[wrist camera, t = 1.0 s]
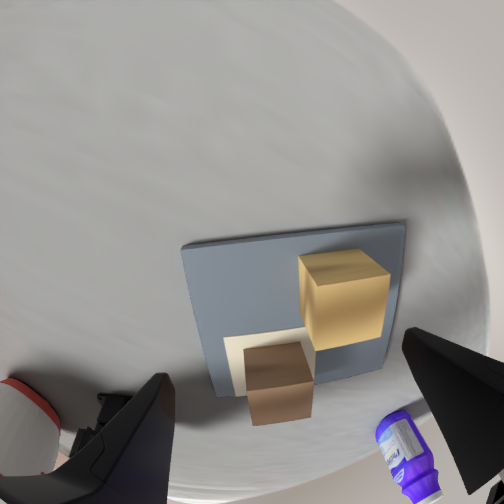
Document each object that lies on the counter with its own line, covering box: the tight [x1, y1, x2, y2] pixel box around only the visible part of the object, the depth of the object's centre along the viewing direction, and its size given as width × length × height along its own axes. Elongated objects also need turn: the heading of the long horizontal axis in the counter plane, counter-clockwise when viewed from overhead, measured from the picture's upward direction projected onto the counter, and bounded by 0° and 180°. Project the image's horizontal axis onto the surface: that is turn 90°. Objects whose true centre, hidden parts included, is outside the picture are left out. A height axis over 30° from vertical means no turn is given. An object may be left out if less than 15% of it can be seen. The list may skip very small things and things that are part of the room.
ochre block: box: [298, 248, 391, 351], centre depth 19 cm, size 5×5×5 cm
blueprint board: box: [180, 223, 405, 397], centre depth 23 cm, size 16×18×1 cm
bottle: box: [376, 411, 443, 504], centre depth 24 cm, size 7×6×17 cm
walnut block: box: [243, 341, 314, 426], centre depth 21 cm, size 5×5×5 cm
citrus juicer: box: [0, 378, 60, 476], centre depth 18 cm, size 16×17×20 cm
